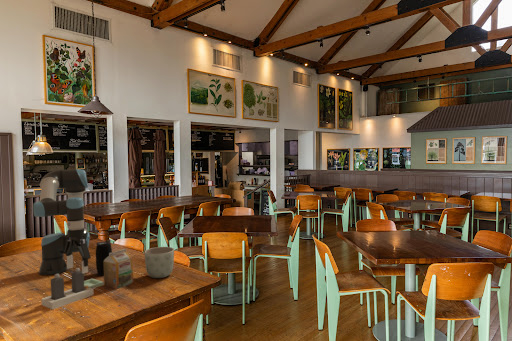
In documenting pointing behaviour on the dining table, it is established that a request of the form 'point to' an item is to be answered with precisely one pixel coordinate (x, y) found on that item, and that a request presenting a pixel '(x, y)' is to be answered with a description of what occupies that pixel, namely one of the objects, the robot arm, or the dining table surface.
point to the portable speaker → (102, 255)
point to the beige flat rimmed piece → (67, 298)
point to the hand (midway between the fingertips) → (77, 270)
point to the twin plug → (57, 287)
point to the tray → (93, 283)
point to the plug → (77, 281)
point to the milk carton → (118, 269)
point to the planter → (159, 261)
